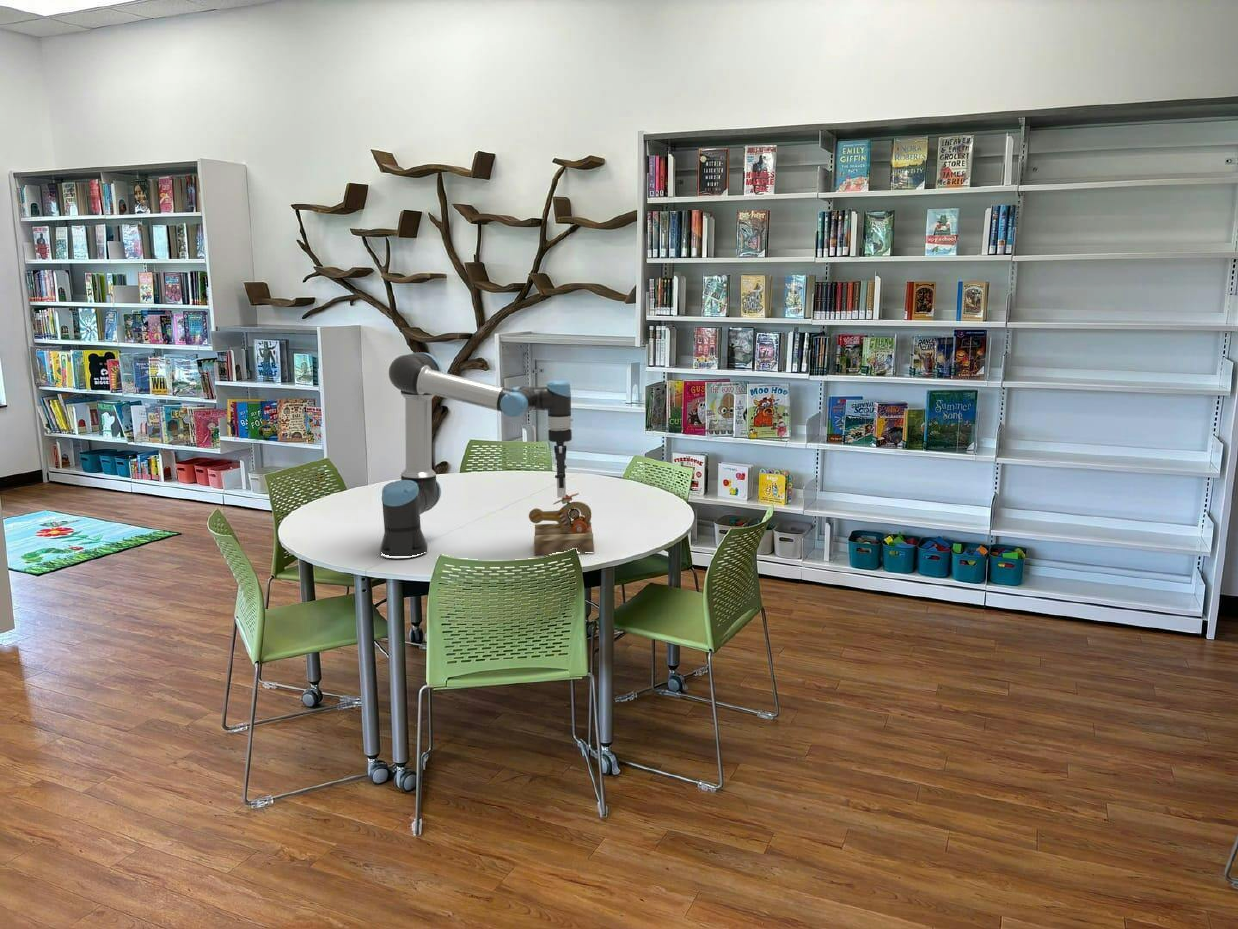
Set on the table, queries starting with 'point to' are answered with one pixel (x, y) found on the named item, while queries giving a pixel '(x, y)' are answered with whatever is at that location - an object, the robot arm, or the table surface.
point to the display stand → (560, 540)
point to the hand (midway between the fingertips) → (561, 492)
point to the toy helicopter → (566, 516)
